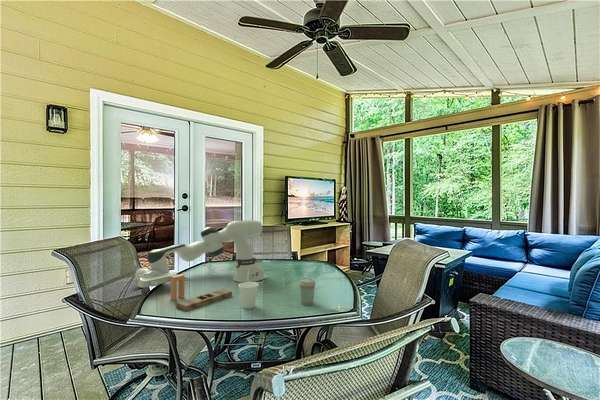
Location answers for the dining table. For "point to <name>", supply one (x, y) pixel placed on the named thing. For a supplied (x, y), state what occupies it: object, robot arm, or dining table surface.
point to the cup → (248, 294)
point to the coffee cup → (307, 290)
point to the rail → (203, 299)
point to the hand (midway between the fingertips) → (165, 282)
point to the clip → (181, 285)
